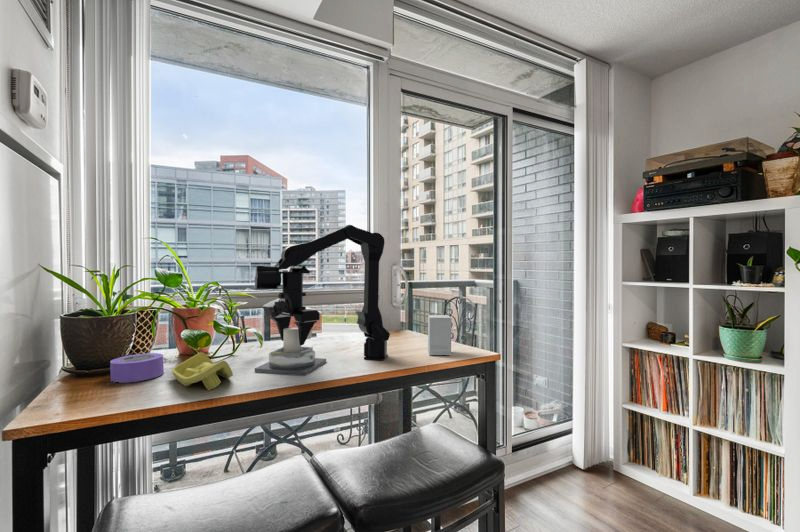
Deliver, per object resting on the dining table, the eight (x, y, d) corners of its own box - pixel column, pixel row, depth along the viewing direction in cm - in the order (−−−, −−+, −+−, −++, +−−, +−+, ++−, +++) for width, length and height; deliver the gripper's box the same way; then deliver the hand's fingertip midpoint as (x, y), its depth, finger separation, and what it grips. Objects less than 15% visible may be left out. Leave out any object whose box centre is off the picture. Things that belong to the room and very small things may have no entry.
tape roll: (98, 383, 101) (98, 363, 101) (130, 371, 113) (130, 353, 113) (146, 382, 101) (145, 362, 101) (172, 370, 113) (172, 352, 113)
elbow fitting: (289, 355, 114) (289, 331, 114) (279, 353, 118) (280, 329, 117) (313, 351, 120) (314, 327, 120) (304, 348, 124) (304, 325, 124)
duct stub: (326, 362, 124) (326, 345, 124) (305, 375, 109) (305, 356, 109) (281, 359, 127) (281, 343, 127) (254, 372, 112) (254, 354, 112)
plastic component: (169, 370, 105) (206, 348, 111) (183, 393, 107) (219, 371, 113) (187, 381, 90) (229, 356, 96) (203, 408, 92) (243, 382, 98)
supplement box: (451, 356, 133) (451, 317, 133) (428, 356, 133) (429, 317, 133) (449, 351, 140) (449, 314, 140) (427, 351, 140) (427, 314, 140)
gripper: (250, 288, 118) (250, 342, 118) (286, 292, 105) (286, 352, 106) (284, 287, 126) (283, 337, 126) (321, 290, 114) (320, 345, 114)
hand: (292, 342), depth 118 cm, fingers open, 9 cm apart
